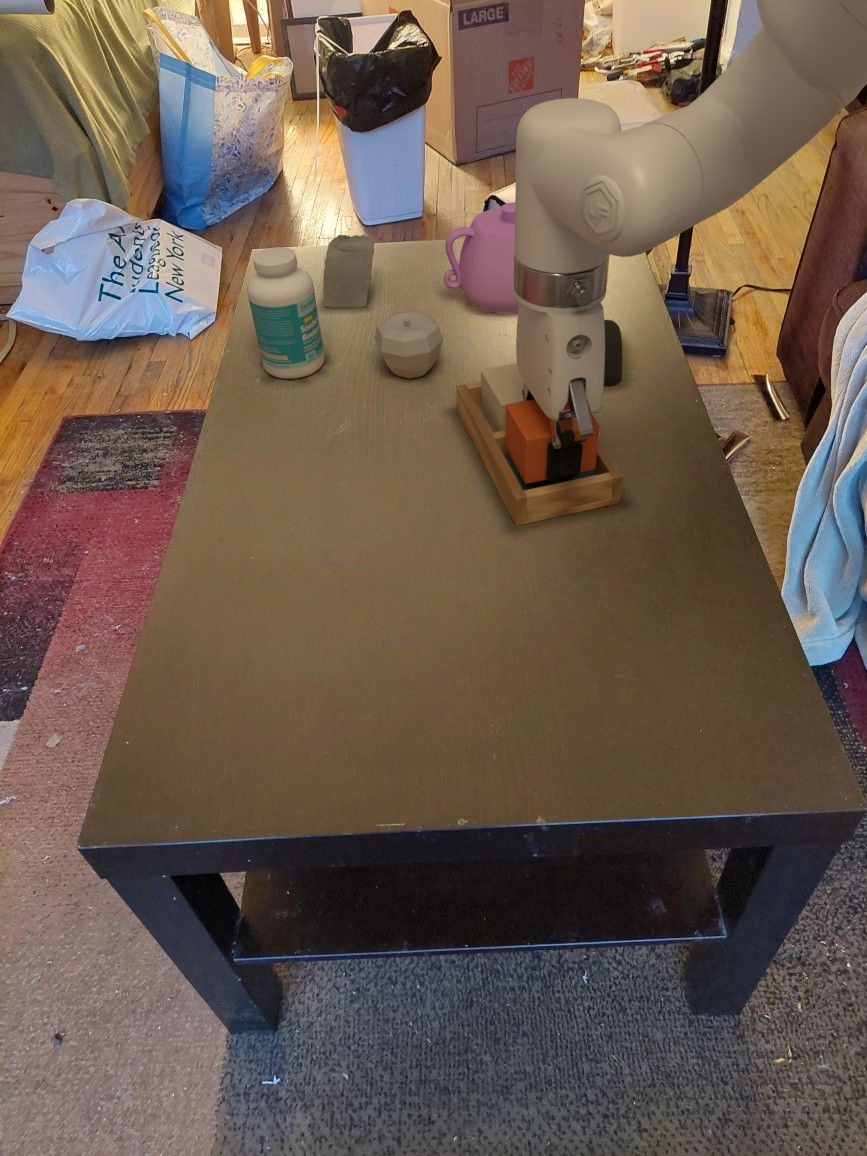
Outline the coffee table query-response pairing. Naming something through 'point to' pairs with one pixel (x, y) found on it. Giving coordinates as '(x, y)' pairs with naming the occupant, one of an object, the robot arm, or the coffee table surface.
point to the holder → (542, 495)
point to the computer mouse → (612, 354)
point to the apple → (409, 343)
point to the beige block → (500, 393)
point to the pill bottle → (285, 315)
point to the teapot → (486, 260)
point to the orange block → (539, 440)
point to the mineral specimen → (348, 271)
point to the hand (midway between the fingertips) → (550, 453)
